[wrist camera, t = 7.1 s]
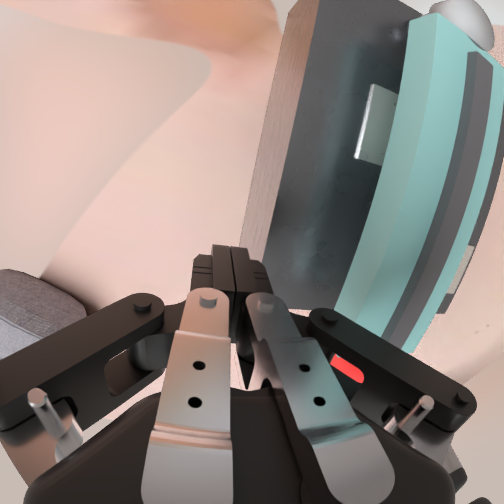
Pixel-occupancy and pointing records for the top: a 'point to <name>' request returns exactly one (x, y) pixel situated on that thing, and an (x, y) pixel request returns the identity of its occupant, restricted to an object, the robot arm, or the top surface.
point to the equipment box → (331, 147)
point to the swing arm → (428, 175)
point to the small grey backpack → (32, 310)
